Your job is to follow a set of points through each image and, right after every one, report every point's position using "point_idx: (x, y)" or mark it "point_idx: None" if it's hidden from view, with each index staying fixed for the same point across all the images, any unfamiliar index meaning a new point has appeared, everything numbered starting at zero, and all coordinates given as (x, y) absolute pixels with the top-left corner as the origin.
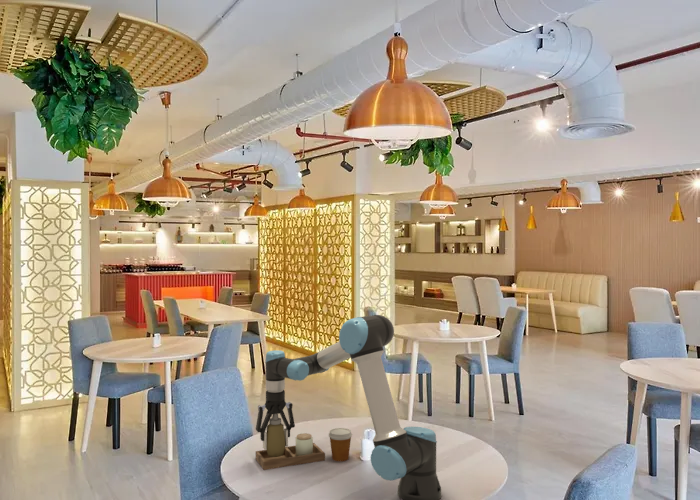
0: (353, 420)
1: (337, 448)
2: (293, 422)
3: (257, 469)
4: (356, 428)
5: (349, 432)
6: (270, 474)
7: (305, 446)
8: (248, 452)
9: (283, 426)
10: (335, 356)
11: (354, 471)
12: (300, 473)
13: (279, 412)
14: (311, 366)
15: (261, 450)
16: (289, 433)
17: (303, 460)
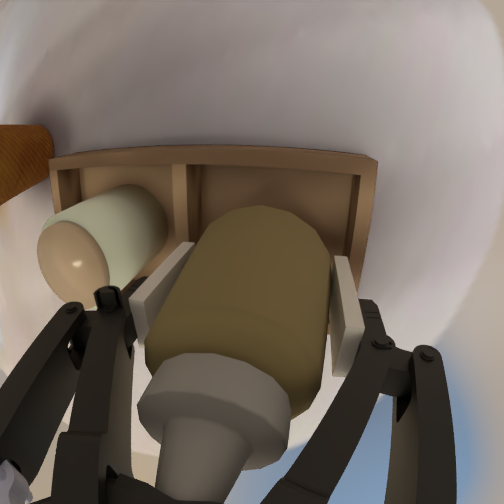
0: None
1: (2, 130)
2: (50, 326)
3: (377, 210)
4: (15, 355)
5: None
6: (343, 115)
7: (93, 202)
8: (324, 389)
9: (148, 332)
10: None
11: (34, 47)
12: (199, 65)
13: (118, 487)
14: None
15: None
16: (131, 291)
17: (145, 148)
